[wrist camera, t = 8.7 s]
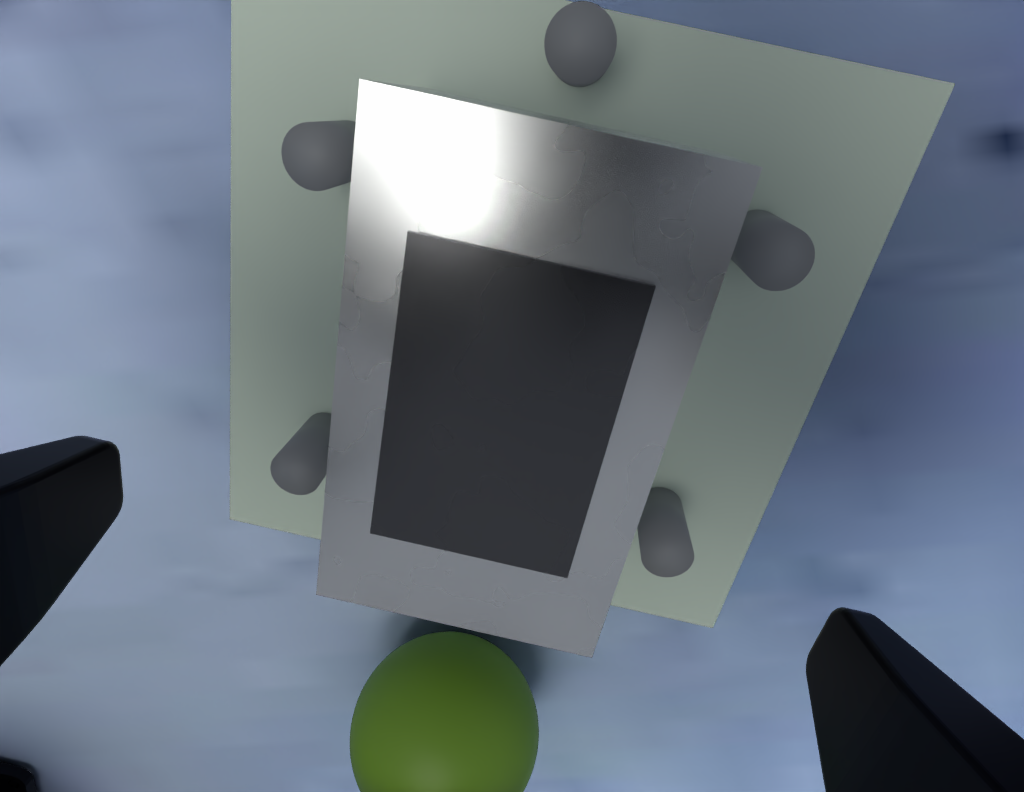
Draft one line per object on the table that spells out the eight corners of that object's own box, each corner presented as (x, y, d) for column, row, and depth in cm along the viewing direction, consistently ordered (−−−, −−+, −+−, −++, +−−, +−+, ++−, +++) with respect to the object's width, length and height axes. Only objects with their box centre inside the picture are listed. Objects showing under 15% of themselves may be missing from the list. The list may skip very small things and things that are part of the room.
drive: (590, 540, 17) (591, 661, 13) (372, 491, 17) (314, 597, 13) (711, 150, 13) (764, 168, 9) (422, 87, 13) (356, 78, 9)
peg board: (705, 598, 19) (727, 687, 16) (249, 495, 19) (190, 565, 16) (923, 85, 13) (1021, 78, 10) (260, -57, 13) (169, -103, 10)
